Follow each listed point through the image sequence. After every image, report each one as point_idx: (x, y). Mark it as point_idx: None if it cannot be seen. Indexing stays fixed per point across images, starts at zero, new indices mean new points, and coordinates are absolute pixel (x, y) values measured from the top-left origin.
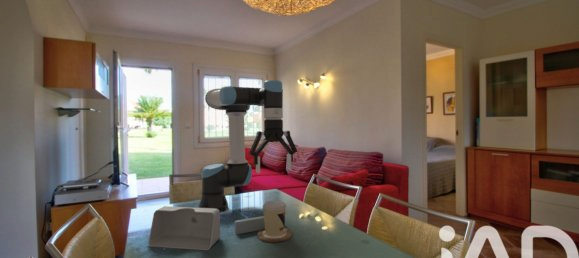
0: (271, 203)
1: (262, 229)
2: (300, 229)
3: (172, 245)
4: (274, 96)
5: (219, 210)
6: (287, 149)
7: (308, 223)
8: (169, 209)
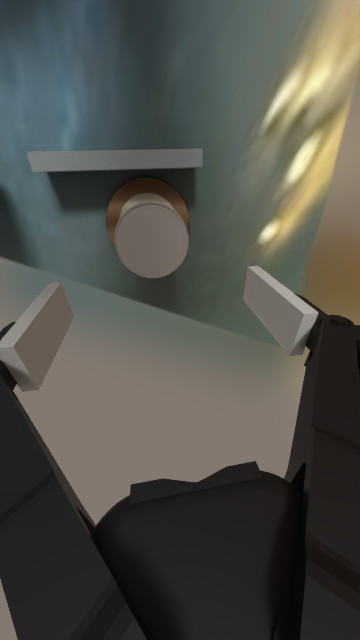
0: (145, 233)
1: (124, 185)
2: (217, 218)
3: None
4: None
5: None
6: (303, 385)
7: (256, 187)
8: None
